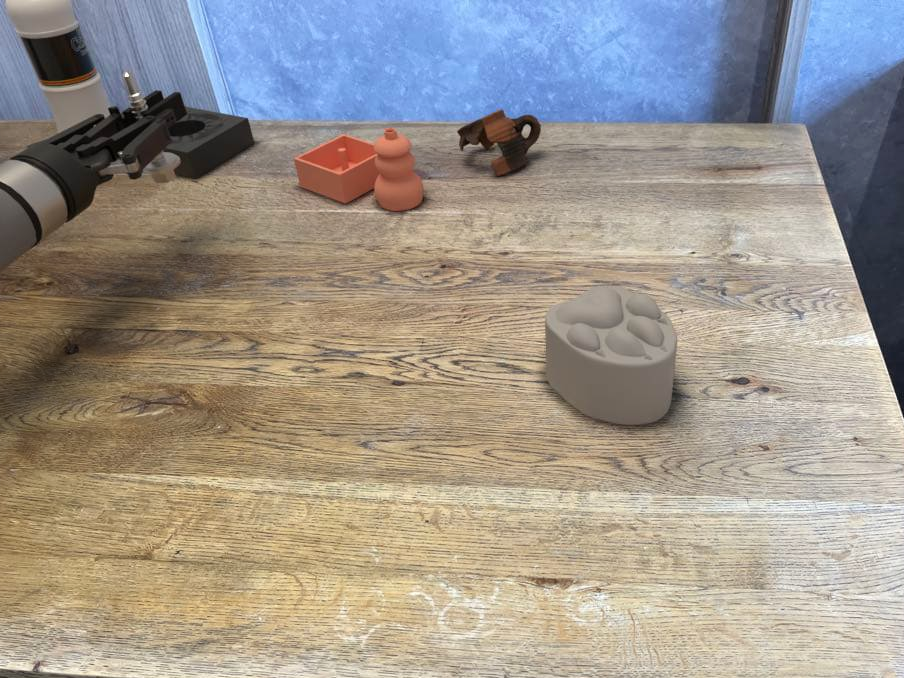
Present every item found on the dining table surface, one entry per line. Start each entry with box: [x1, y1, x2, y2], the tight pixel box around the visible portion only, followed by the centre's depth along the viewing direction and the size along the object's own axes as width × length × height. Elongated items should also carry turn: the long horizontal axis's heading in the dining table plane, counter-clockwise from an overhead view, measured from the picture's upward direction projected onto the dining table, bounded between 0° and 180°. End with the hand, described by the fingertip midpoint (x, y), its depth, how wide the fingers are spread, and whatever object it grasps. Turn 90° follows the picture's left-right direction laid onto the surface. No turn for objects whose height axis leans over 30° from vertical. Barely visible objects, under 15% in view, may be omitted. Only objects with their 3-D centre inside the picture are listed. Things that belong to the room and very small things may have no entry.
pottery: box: [293, 127, 424, 212], centre depth 110 cm, size 18×10×10 cm, turn 54°
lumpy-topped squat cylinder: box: [544, 285, 678, 426], centre depth 78 cm, size 10×13×9 cm
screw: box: [121, 70, 181, 184], centre depth 95 cm, size 13×5×5 cm
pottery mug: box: [456, 109, 542, 177], centre depth 118 cm, size 12×10×8 cm
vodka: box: [4, 0, 112, 134], centre depth 118 cm, size 9×9×30 cm
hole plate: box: [163, 106, 255, 180], centre depth 123 cm, size 13×13×4 cm
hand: (171, 102), depth 99 cm, fingers closed on screw, 2 cm apart
